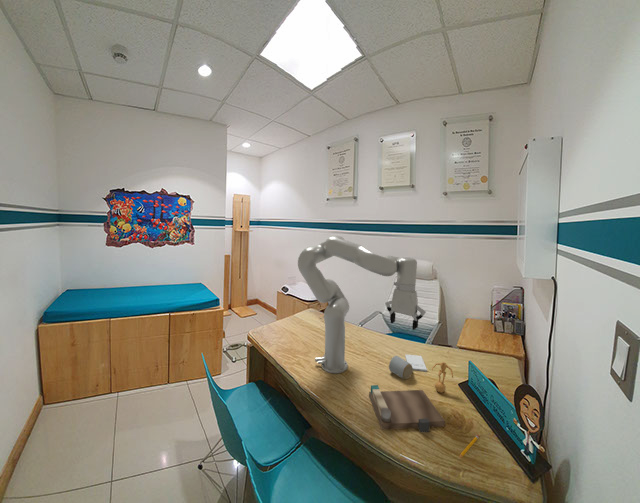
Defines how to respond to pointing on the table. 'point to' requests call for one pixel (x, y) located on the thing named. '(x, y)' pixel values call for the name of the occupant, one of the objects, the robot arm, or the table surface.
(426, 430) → the leg stop
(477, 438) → the pencil
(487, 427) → the table surface
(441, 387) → the figurine
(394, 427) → the brown wooden board
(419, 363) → the external hard drive
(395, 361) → the grey cylinder
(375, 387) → the stool leg
